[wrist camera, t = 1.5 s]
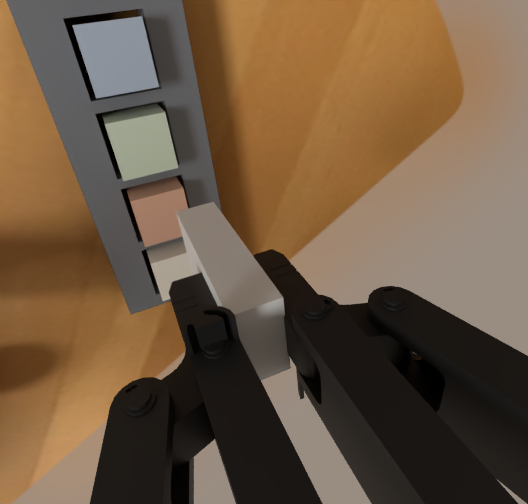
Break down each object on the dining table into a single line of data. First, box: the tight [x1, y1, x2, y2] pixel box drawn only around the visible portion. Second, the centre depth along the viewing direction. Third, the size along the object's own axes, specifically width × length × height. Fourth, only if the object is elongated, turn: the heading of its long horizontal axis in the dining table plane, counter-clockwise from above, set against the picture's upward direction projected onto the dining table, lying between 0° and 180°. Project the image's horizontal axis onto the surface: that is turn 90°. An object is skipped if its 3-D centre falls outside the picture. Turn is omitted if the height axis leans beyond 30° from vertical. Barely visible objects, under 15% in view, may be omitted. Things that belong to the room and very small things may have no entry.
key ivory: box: [146, 239, 193, 301], centre depth 34 cm, size 4×4×4 cm
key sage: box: [102, 103, 178, 181], centre depth 28 cm, size 4×4×4 cm
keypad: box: [6, 0, 222, 314], centre depth 31 cm, size 10×24×3 cm, turn 7°
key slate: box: [72, 16, 159, 98], centre depth 25 cm, size 4×4×4 cm
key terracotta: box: [126, 176, 188, 247], centre depth 31 cm, size 4×4×4 cm
